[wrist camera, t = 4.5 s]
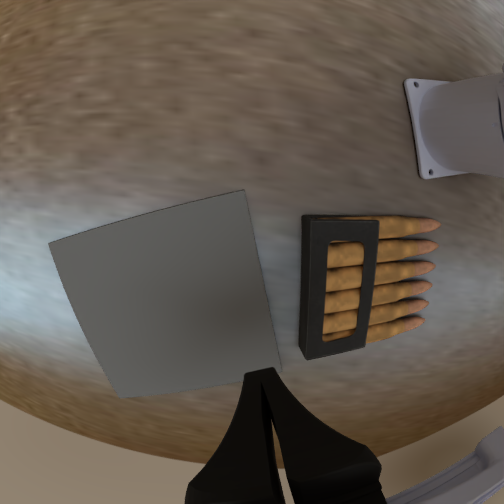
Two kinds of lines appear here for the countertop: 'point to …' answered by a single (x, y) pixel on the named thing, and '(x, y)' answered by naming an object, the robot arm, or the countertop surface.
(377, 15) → the countertop surface
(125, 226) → the mat
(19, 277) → the countertop surface
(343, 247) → the ammunition clip
